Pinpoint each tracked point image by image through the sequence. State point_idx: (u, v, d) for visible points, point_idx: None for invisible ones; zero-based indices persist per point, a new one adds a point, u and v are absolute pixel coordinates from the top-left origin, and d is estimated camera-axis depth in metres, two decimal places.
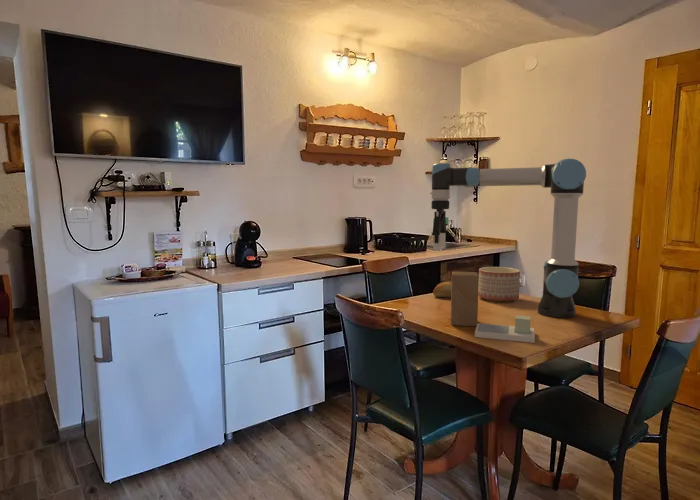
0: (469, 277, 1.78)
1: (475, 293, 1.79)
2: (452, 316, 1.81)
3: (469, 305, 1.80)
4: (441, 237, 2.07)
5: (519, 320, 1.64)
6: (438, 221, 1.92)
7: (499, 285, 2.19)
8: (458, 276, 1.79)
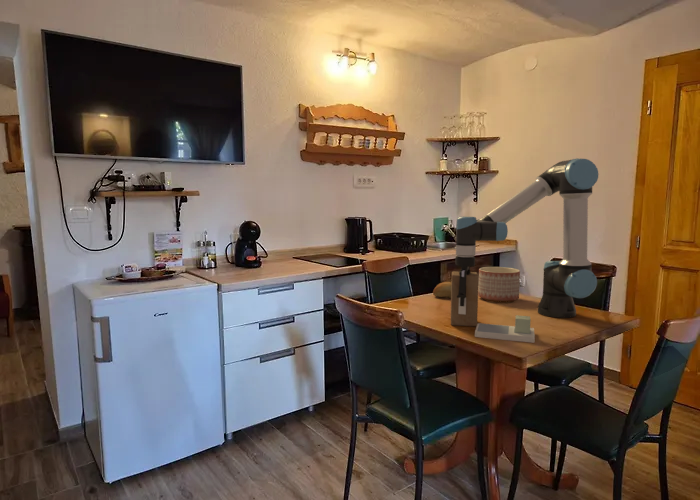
0: (469, 277, 1.78)
1: (475, 293, 1.79)
2: (452, 316, 1.81)
3: (469, 305, 1.80)
4: None
5: (519, 320, 1.64)
6: (464, 283, 1.77)
7: (499, 285, 2.19)
8: (458, 276, 1.79)
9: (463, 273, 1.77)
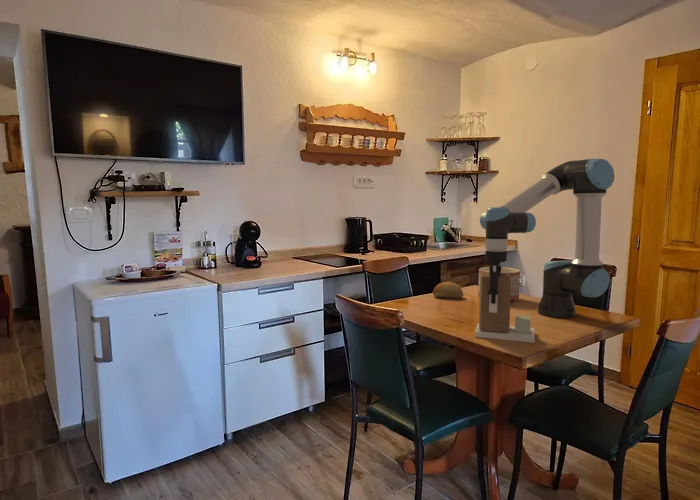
0: (500, 278, 1.63)
1: (507, 296, 1.63)
2: (481, 321, 1.66)
3: (500, 310, 1.64)
4: None
5: (519, 320, 1.64)
6: (496, 278, 1.60)
7: None
8: (488, 277, 1.64)
9: (495, 267, 1.61)
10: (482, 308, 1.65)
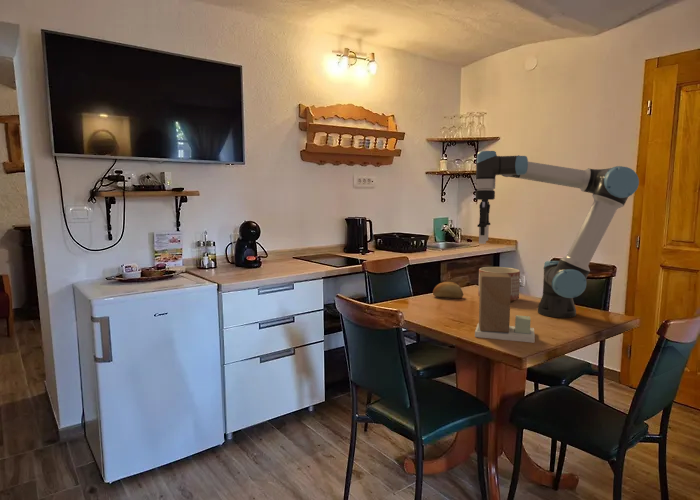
0: (500, 278, 1.63)
1: (507, 296, 1.63)
2: (481, 321, 1.66)
3: (500, 310, 1.64)
4: None
5: (519, 320, 1.64)
6: (485, 212, 1.81)
7: None
8: (488, 277, 1.64)
9: (484, 203, 1.82)
10: (482, 308, 1.65)
